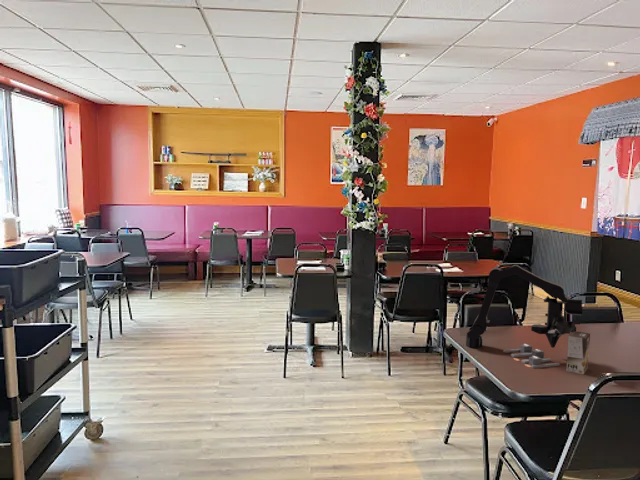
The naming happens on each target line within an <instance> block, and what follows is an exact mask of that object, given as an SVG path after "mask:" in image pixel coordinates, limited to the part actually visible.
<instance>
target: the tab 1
mask: <svg viewBox="0 0 640 480" xmlns="http://www.w3.org/2000/svg"><path fill="white" fill-rule="evenodd" d="M519 346H520V348H519V349H520V352H519V353H530V352H532V350H533V346H532V345H530V344H527V343H523V344H520V345H519Z"/></svg>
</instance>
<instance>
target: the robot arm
mask: <svg viewBox="0 0 640 480" xmlns="http://www.w3.org/2000/svg"><path fill="white" fill-rule="evenodd" d="M514 275H515V276H518V278H521V279H523V280H525V281H527V282H529V283H530V284H533V285H534V286H536V287H539V288H540V289H541V290H543V292H544V293H546V294H547V296H546V297H545V298H543V303H547V313H545V314H544V315H545V317H546V322H544V325H542V324H538V323H537V324H532V326H531V329H530V330H531V331H532V332H533V333H536V334H539V335H545V336H546V338H547V340H548V343H549V345H550V347H551V348H552V349H553V348H555V347H556V346H557V343H558V340H559V339H560V338H561V336H563V335H565V334H568V335H570V334H571V333H572V332H573V331H576V332H577V326H576V322H574V321H573V320H572V321H566V320H565V316H564V315H563V312H565V313H566V314H567V315H575V316H582V315H583V300H582V299H580V298H576V299H574V298H568V296H567V295H566V294H565V290H564V288H563V286H562V284H560V283H557V282H554V281H550V280H547V279H544V278H542V277H541V276H538V275H537V274H534V273H533V272H531V271H529V270H527V269H525V268H523V267H521V266H519V265H518V264H513V265H509V266H505V267H498V266H495V267H493V268H491V270H490V271H489V273H488V279H487V280H488V282H487V283H488V284H487V288H486V291H485V295H484V298H483V301H482V304H481V305H480V306H481V307H480V310H479V312H478V315H477V317H476V318H475V320H474V322H473V324H472V325H471V327H469V328H468V330H467V332H466V337H465V347H467V348H469V349H470V348H471V349H479V348H481V347H483V339H482V338H483V336H482V335H483V334H485V332H487V330H488V326H489V324H490V321H491V320H490V319H488V314H489V311H490V309H491V305H492V302H493V299H494V296H495V293H496V291H497V288H498V286H499V285H500V283H501V281H502V279H505V278H508V277H511V276H514ZM549 296H550V297H549Z"/></svg>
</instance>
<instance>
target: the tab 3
mask: <svg viewBox="0 0 640 480" xmlns="http://www.w3.org/2000/svg"><path fill="white" fill-rule="evenodd" d="M528 359H529V363H528V365H530V366H532V365H539V364H542V363H543V362H542V358H540V357H538V356H533V357H531V356H528Z"/></svg>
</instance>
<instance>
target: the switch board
mask: <svg viewBox="0 0 640 480" xmlns="http://www.w3.org/2000/svg"><path fill="white" fill-rule="evenodd" d="M503 353H504V354H505V353H511V354H510V357H511V358H512V359H513V360H514V361H517V362H519V361H521V363H522V364H523V365H524V366H525V367H528V368H532V369H536V368H537V369H539V368H548V367H549V368H551V367H560V366H561V363H560V362H554V363H548V362H552V358H550V357H544V358H542V363H543V364H539V365H532V366H531V365H529V358H526V357H531V356H532V352H530V353H522V352H520V348H516V349H512V348H511V349H503ZM524 357H525V358H526V359H519V358H524Z"/></svg>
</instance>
